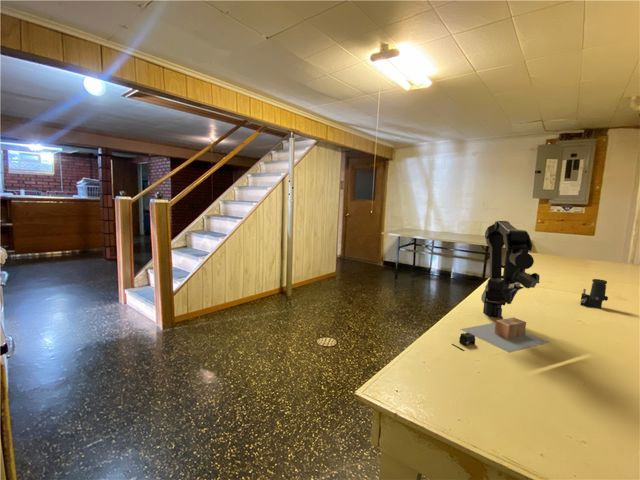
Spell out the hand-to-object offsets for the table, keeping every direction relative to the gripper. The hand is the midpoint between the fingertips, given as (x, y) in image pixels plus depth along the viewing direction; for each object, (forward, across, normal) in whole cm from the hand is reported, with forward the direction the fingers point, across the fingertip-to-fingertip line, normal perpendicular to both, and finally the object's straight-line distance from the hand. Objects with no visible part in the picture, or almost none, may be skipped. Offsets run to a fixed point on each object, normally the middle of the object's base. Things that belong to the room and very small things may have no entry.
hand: (508, 303), depth 118 cm
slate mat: (+12, -4, -2) cm, 13 cm away
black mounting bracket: (+13, -23, -2) cm, 26 cm away
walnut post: (+9, -5, -2) cm, 10 cm away
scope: (+13, +76, +7) cm, 77 cm away
